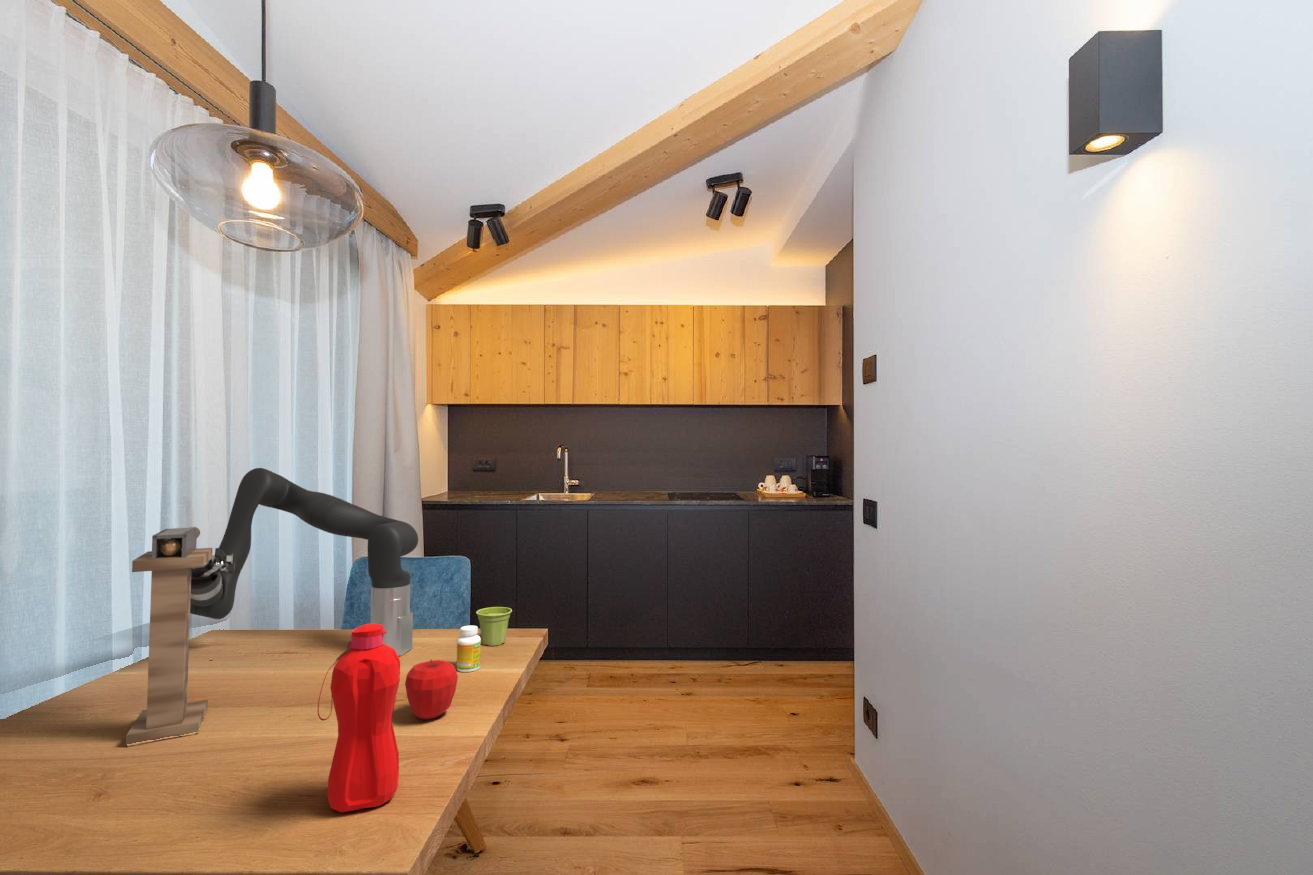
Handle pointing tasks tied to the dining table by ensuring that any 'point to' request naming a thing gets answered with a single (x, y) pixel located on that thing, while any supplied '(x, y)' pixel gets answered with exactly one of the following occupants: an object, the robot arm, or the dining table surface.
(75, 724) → the dining table surface
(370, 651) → the water bottle
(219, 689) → the dining table surface
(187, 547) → the grey hollow box
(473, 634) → the supplement bottle
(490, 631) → the plant pot
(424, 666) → the apple
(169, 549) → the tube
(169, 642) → the wooden pedestal stand
